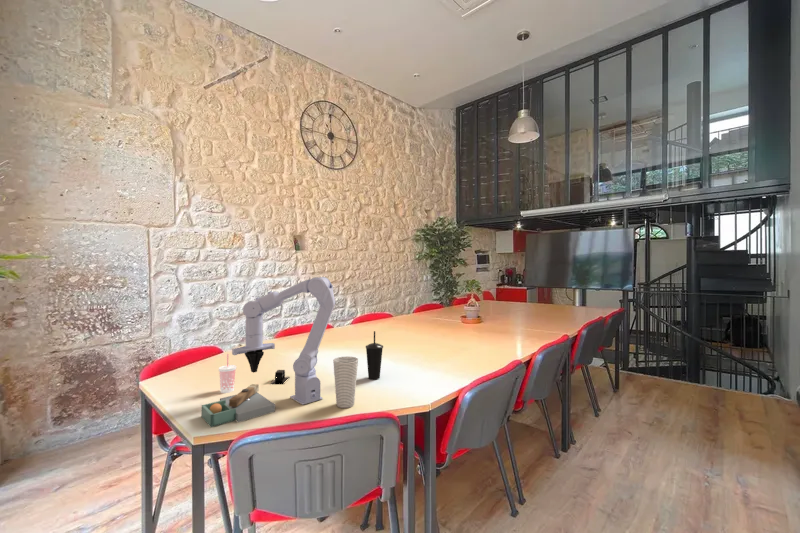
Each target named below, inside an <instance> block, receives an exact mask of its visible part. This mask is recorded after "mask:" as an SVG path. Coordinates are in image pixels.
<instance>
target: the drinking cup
mask: <svg viewBox="0 0 800 533" xmlns="http://www.w3.org/2000/svg"><path fill="white" fill-rule="evenodd" d="M365 349H366V350H365V351H366V364H367V374H368V375H367V376H368V379H369V380H372V381H373V380H379V379H380V378H381V370H382V369H381V368H382V358H383V357H382V356H383V349H384V345H382V344H380V343H377V342H376V331H373V342H371V343H368V344H366V345H365Z"/></svg>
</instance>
